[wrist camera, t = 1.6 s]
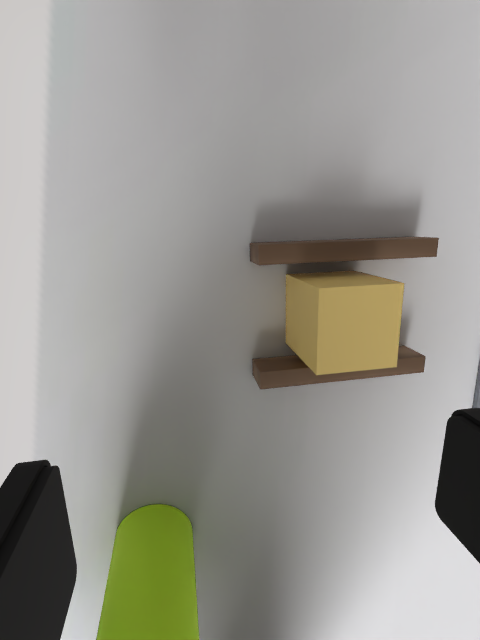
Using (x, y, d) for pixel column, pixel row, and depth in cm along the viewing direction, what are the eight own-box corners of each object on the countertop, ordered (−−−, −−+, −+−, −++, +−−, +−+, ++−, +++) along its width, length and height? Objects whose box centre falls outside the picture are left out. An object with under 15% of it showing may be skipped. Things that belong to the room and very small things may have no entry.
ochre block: (349, 337, 27) (396, 366, 21) (285, 342, 26) (316, 375, 21) (353, 270, 26) (404, 283, 20) (285, 274, 25) (318, 288, 19)
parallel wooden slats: (402, 359, 28) (423, 372, 26) (252, 374, 26) (260, 389, 24) (414, 236, 26) (438, 237, 24) (249, 242, 24) (258, 244, 22)
